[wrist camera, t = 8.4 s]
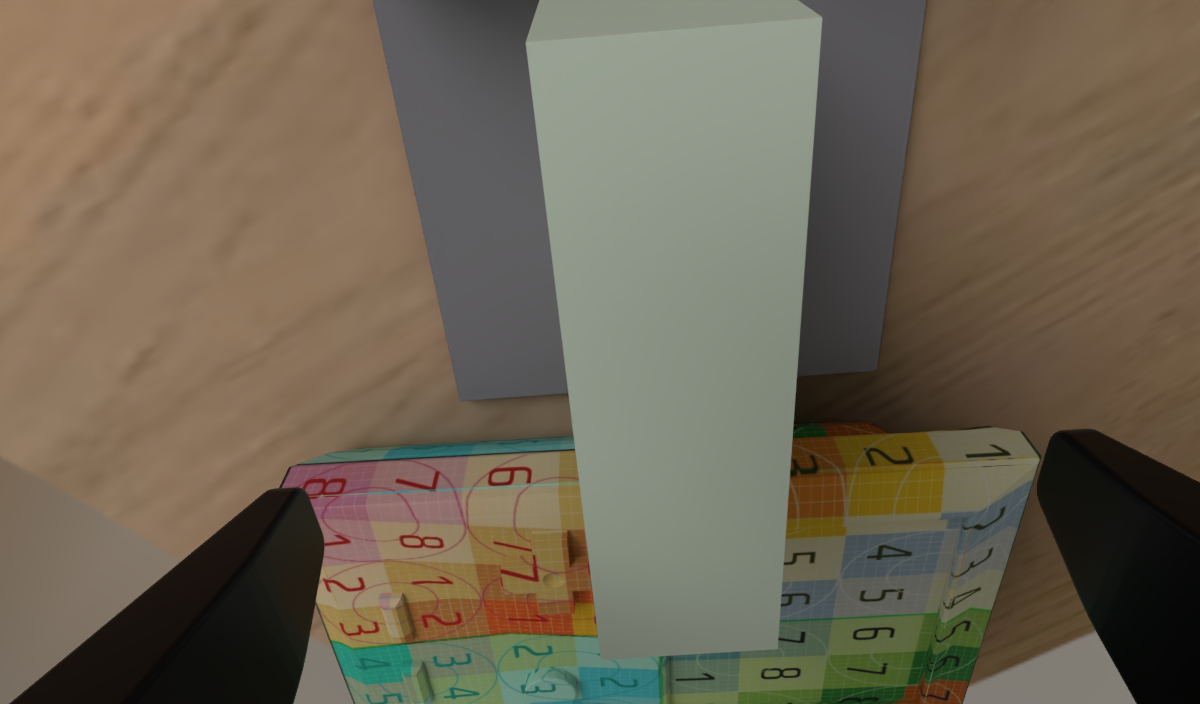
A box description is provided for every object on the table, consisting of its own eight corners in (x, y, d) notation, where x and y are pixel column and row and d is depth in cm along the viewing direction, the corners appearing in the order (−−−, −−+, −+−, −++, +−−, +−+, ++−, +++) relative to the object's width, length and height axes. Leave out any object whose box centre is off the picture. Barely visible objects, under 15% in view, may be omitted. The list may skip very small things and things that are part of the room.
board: (700, -68, 16) (821, 17, 8) (703, 339, 22) (777, 649, 13) (557, -55, 16) (525, 42, 8) (595, 347, 22) (600, 659, 13)
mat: (934, -119, 16) (942, -119, 16) (872, 363, 23) (876, 370, 22) (363, -67, 17) (358, -65, 16) (462, 393, 23) (460, 401, 23)
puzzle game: (261, 524, 20) (1060, 481, 19) (316, 411, 24) (980, 374, 23) (364, 777, 26) (968, 749, 26) (394, 654, 30) (917, 629, 30)
